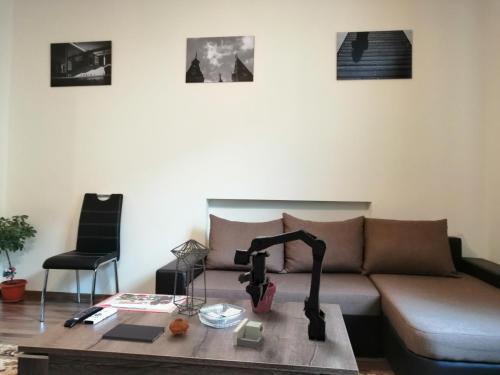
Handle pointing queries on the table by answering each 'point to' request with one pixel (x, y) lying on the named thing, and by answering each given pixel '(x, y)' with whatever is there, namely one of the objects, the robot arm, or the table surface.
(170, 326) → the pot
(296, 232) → the robot arm
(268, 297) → the plant pot
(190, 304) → the geometric lantern
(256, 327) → the cabinet block
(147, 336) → the notebook
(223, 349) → the table surface
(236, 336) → the cleat board
